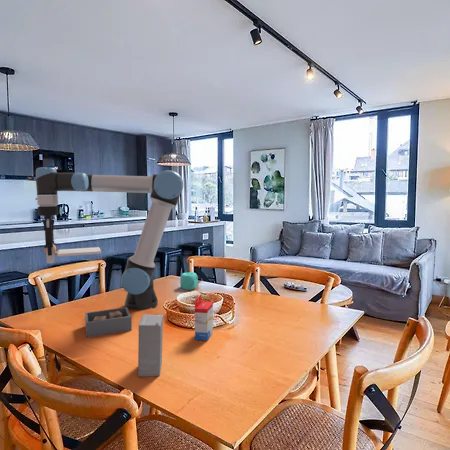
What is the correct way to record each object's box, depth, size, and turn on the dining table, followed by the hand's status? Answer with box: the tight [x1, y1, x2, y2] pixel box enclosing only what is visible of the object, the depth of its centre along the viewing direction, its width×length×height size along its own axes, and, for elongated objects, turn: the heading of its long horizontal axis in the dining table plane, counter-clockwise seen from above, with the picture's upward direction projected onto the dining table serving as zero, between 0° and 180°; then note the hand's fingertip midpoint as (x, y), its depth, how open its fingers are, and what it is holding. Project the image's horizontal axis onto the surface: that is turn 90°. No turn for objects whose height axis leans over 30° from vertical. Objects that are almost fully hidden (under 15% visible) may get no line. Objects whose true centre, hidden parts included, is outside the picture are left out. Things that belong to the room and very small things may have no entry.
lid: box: [43, 244, 102, 258], centre depth 146 cm, size 22×13×4 cm, turn 114°
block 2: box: [109, 311, 122, 319], centre depth 137 cm, size 4×4×5 cm
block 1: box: [93, 316, 106, 321], centre depth 132 cm, size 4×4×5 cm
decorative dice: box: [179, 271, 199, 291], centre depth 193 cm, size 8×8×8 cm
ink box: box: [194, 294, 214, 341], centre depth 127 cm, size 8×5×15 cm, turn 168°
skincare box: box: [137, 314, 164, 378], centre depth 103 cm, size 8×7×16 cm
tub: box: [84, 306, 133, 338], centre depth 134 cm, size 16×12×6 cm
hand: (50, 261), depth 143 cm, fingers closed on lid, 4 cm apart
